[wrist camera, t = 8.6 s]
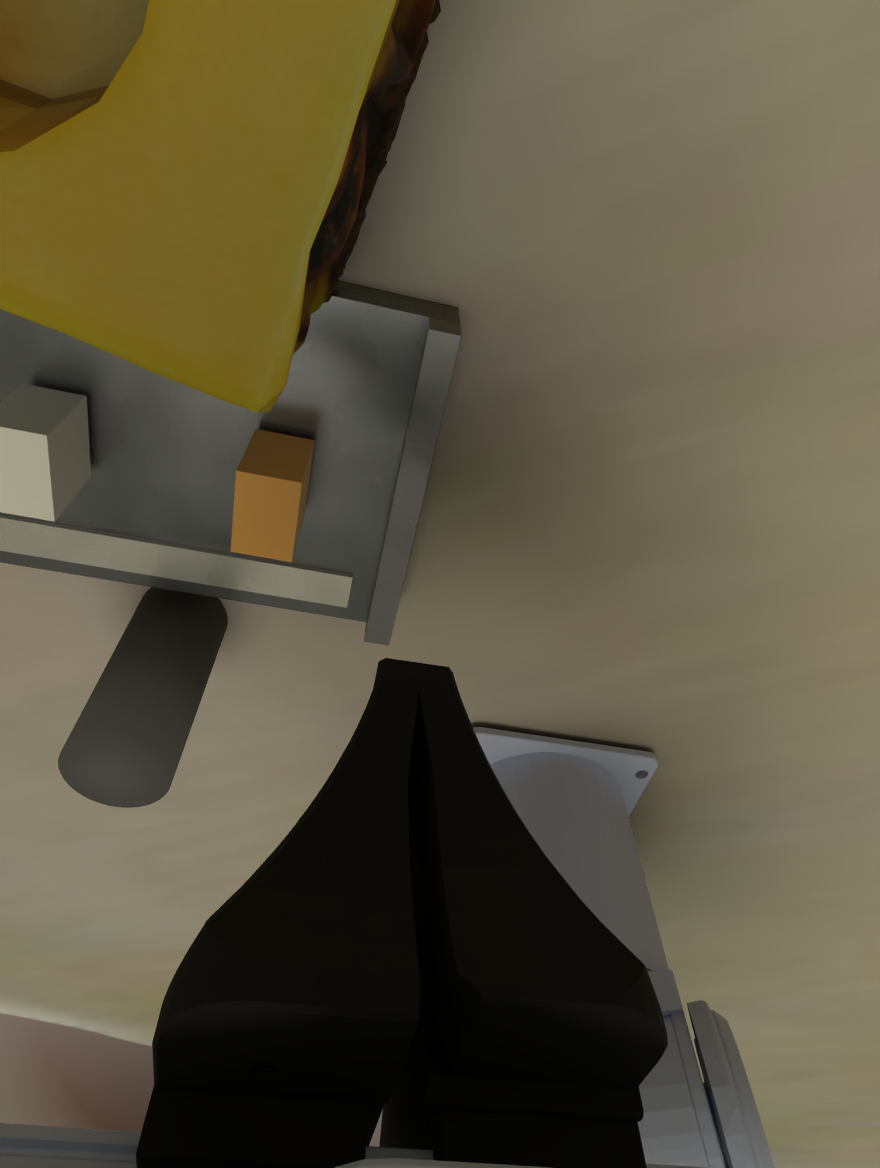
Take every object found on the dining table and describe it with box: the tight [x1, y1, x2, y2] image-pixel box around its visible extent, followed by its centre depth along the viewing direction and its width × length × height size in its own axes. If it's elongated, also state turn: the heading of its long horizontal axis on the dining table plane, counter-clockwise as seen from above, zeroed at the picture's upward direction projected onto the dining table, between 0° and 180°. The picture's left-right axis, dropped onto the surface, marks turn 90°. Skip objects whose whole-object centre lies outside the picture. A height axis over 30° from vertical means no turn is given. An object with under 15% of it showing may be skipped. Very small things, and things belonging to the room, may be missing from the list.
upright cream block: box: [0, 384, 91, 522], centre depth 19 cm, size 2×2×2 cm
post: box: [58, 587, 227, 807], centre depth 23 cm, size 3×3×7 cm
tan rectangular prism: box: [231, 429, 315, 562], centre depth 20 cm, size 2×2×2 cm
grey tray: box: [0, 281, 461, 645], centre depth 21 cm, size 10×14×2 cm
